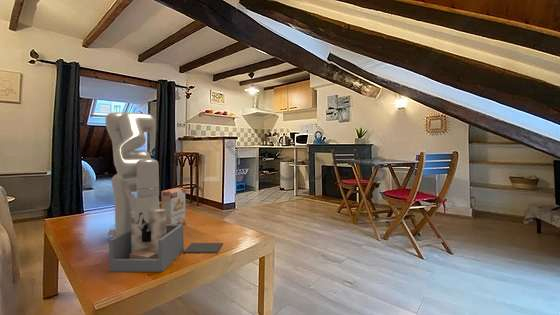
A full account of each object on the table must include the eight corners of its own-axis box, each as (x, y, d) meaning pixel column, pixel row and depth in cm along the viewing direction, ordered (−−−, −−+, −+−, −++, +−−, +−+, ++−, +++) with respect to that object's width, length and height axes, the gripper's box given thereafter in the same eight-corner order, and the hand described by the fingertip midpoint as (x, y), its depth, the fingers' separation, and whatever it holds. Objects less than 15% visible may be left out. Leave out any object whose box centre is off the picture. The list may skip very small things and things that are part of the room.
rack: (109, 271, 91) (109, 240, 91) (140, 250, 110) (139, 224, 109) (162, 271, 90) (161, 240, 90) (183, 250, 109) (183, 224, 109)
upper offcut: (129, 260, 95) (129, 253, 95) (138, 256, 98) (138, 250, 98) (148, 264, 92) (148, 257, 92) (156, 260, 95) (156, 253, 95)
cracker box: (171, 231, 136) (170, 191, 135) (161, 230, 137) (160, 191, 136) (186, 224, 149) (185, 187, 149) (177, 223, 150) (176, 187, 150)
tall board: (131, 258, 99) (130, 211, 98) (136, 255, 102) (135, 209, 101) (163, 258, 98) (162, 211, 98) (166, 255, 101) (165, 209, 101)
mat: (183, 253, 107) (183, 251, 107) (191, 244, 117) (191, 242, 117) (217, 253, 106) (217, 251, 106) (223, 244, 116) (223, 242, 116)
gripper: (149, 188, 107) (150, 233, 108) (125, 196, 91) (126, 248, 92) (167, 188, 107) (168, 233, 108) (146, 196, 91) (147, 248, 92)
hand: (149, 239), depth 100 cm, fingers closed on tall board, 3 cm apart
